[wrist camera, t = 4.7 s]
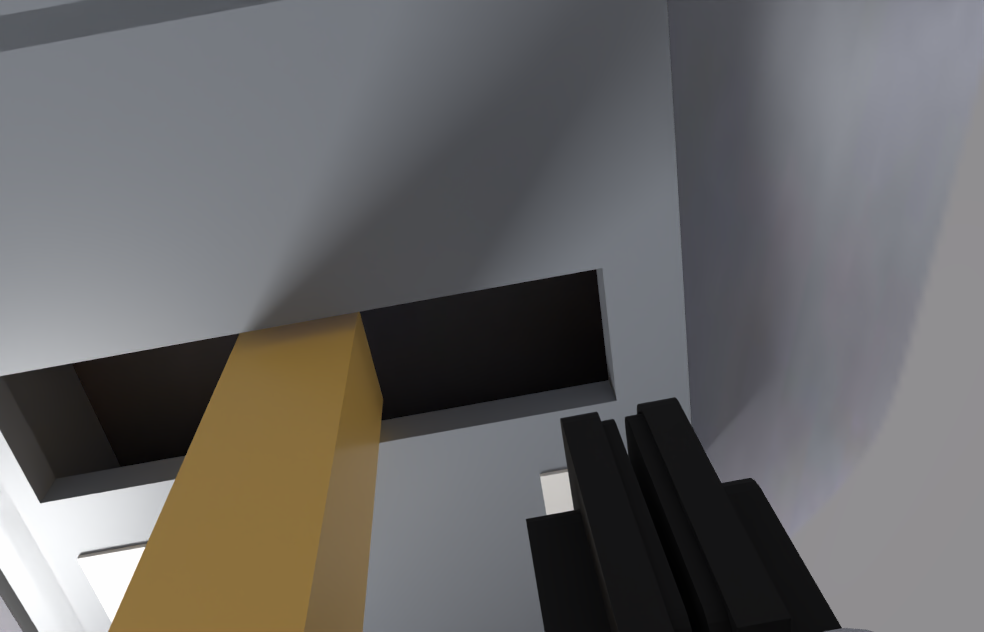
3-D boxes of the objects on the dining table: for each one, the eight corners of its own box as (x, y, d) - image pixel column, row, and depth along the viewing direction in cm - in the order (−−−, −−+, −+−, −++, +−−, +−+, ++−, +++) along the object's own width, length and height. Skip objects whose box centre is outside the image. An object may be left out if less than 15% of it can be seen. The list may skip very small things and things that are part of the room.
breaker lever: (217, 320, 16) (-50, 840, 7) (374, 291, 16) (310, 777, 7) (258, 433, 17) (79, 994, 8) (404, 407, 17) (380, 943, 8)
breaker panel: (-151, 8, 16) (-329, 38, 12) (605, -131, 15) (660, -144, 12) (144, 593, 23) (90, 723, 19) (659, 502, 23) (703, 615, 19)
